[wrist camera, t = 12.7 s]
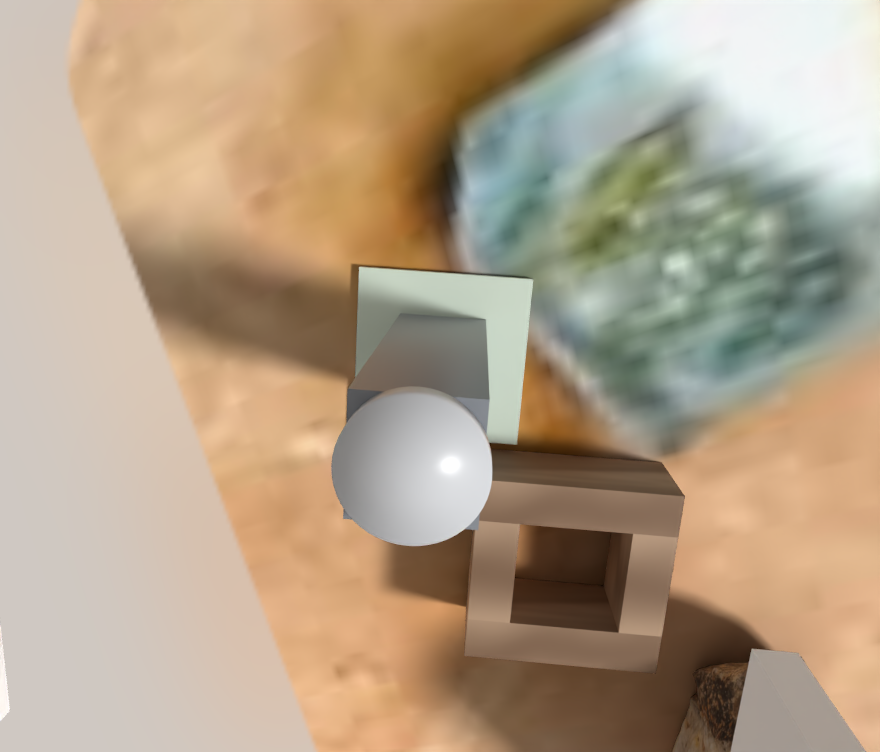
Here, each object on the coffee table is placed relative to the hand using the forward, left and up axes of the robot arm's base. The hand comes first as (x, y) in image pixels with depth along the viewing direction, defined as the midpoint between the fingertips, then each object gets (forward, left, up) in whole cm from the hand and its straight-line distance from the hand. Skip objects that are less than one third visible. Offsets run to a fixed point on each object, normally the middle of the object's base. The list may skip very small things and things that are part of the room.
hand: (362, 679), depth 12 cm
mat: (0, 0, -26) cm, 26 cm away
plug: (0, 0, -26) cm, 26 cm away
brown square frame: (+10, +7, -26) cm, 29 cm away
